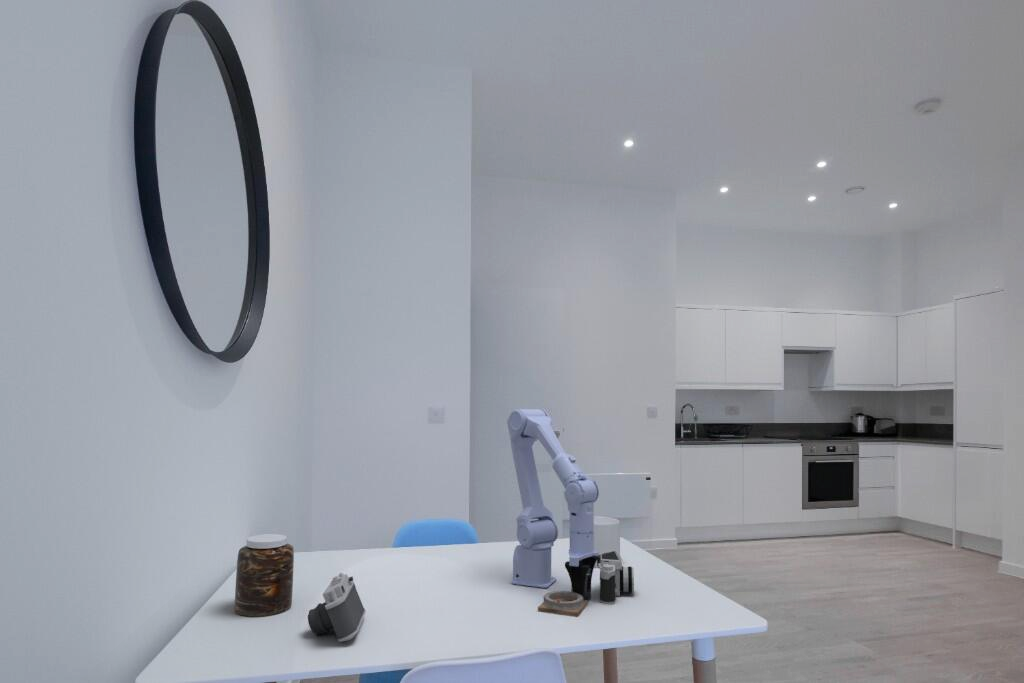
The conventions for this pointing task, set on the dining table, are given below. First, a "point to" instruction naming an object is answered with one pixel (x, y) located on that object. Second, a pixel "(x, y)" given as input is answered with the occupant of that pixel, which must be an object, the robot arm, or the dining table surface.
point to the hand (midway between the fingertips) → (581, 590)
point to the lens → (586, 586)
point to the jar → (264, 576)
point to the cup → (606, 535)
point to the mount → (563, 603)
